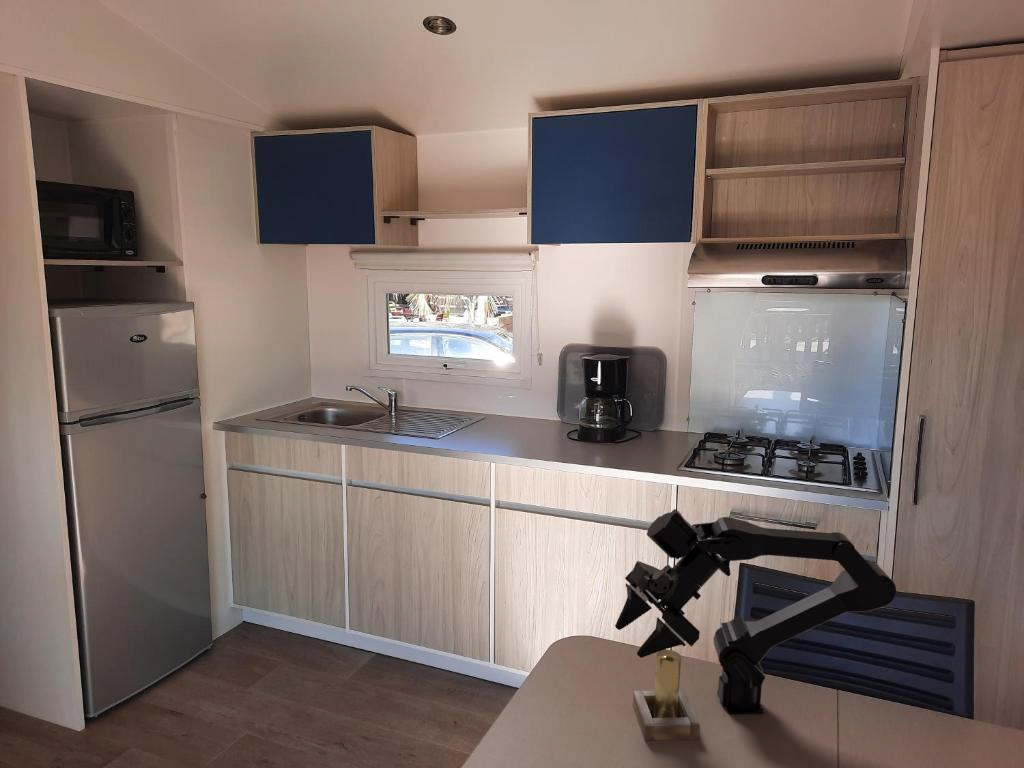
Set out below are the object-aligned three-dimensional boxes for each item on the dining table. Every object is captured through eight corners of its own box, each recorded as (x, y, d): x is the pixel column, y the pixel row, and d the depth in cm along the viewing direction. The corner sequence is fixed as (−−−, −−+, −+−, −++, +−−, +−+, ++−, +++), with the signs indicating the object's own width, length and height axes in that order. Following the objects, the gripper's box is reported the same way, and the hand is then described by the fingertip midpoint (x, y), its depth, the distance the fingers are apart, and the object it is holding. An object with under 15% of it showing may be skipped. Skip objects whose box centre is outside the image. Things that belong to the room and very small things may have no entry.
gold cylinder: (673, 714, 128) (677, 649, 125) (679, 729, 124) (683, 662, 121) (651, 714, 127) (654, 649, 125) (656, 729, 124) (660, 662, 121)
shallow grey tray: (683, 705, 130) (684, 689, 130) (699, 739, 121) (700, 722, 121) (632, 706, 130) (633, 690, 129) (644, 740, 121) (645, 724, 120)
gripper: (637, 528, 133) (578, 590, 133) (686, 571, 116) (619, 643, 115) (674, 564, 137) (617, 625, 136) (727, 611, 119) (662, 682, 118)
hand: (627, 641), depth 126 cm, fingers open, 9 cm apart
